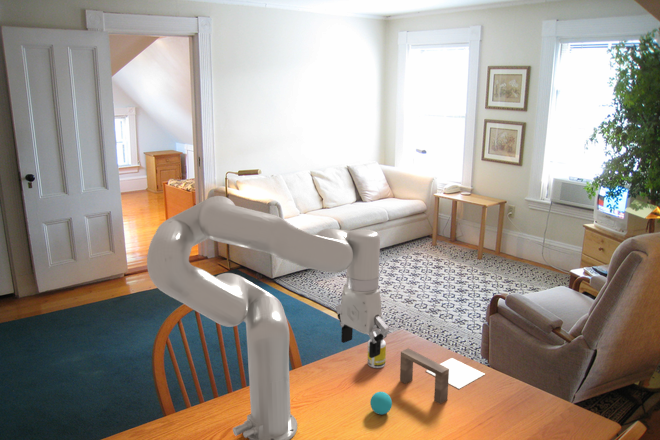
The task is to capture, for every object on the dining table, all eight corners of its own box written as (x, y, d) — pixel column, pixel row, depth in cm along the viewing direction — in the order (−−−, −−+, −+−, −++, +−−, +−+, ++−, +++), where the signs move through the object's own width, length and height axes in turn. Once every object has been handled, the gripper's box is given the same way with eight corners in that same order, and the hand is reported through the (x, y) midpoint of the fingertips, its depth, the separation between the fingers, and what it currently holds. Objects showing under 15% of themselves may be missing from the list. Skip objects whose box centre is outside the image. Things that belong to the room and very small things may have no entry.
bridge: (440, 404, 138) (441, 372, 136) (399, 380, 149) (400, 351, 147) (447, 399, 140) (449, 368, 137) (407, 377, 151) (408, 348, 148)
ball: (380, 421, 131) (381, 402, 130) (365, 411, 135) (366, 392, 134) (396, 413, 134) (396, 394, 133) (381, 403, 138) (381, 385, 137)
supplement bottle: (388, 362, 159) (389, 332, 157) (380, 370, 155) (381, 340, 152) (372, 357, 162) (373, 328, 159) (364, 365, 157) (364, 335, 155)
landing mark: (458, 389, 145) (459, 388, 145) (425, 371, 154) (425, 370, 154) (485, 374, 152) (485, 373, 152) (451, 358, 161) (451, 357, 161)
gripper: (326, 275, 127) (325, 340, 132) (377, 297, 115) (375, 367, 119) (349, 269, 132) (347, 331, 136) (400, 289, 119) (397, 357, 124)
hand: (360, 348), depth 128 cm, fingers open, 9 cm apart
